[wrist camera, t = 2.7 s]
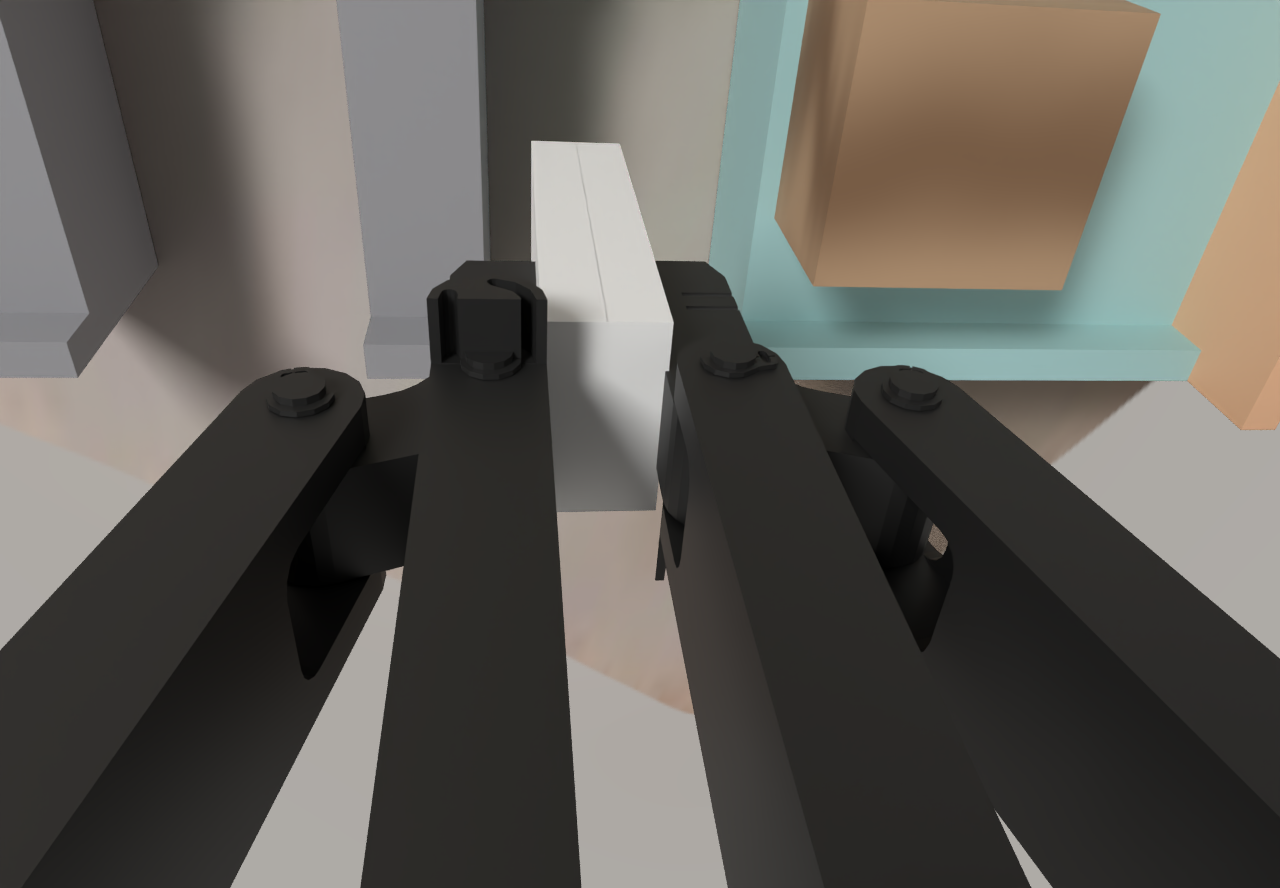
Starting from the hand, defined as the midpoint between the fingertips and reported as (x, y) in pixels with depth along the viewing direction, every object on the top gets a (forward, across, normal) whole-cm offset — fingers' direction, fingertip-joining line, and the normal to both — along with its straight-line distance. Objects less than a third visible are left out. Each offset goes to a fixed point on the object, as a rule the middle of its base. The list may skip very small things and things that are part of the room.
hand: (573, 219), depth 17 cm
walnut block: (+7, +9, 0) cm, 11 cm away
